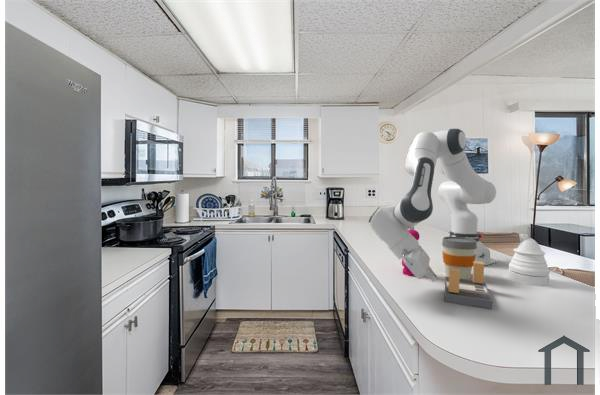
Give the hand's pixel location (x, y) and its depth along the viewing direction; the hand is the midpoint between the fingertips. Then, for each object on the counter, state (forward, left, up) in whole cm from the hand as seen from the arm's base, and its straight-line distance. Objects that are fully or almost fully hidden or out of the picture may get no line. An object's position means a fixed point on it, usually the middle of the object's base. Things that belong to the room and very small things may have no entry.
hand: (435, 279), depth 102 cm
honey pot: (-48, -2, -6) cm, 49 cm away
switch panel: (-12, +2, -6) cm, 13 cm away
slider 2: (-19, 0, -3) cm, 20 cm away
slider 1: (-4, +4, -3) cm, 6 cm away
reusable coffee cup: (-26, -15, -6) cm, 31 cm away
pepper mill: (-9, -23, -6) cm, 26 cm away
